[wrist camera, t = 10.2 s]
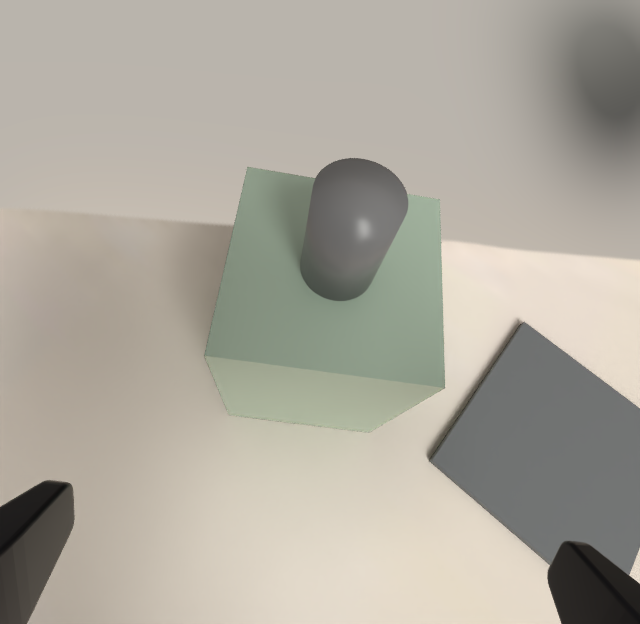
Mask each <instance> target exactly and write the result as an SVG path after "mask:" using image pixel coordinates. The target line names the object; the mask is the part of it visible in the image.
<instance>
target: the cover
mask: <svg viewBox="0 0 640 624" xmlns="http://www.w3.org/2000/svg"><path fill="white" fill-rule="evenodd" d="M440 226H441V225H440V200H439V199H434V198H428V197H422V196H416V195H410V194H407V192H406V190H405V187H404V186H403V184H402V182H401V181H400V180H399V178H398V177H397V176H396V175H395V174H394V173H392V172H391V171H390V170H389V169H387V168H386V167H383V166H382V165H380V164H378V163H376V162H372V161H369V160H365V159H358V158H349V159H342V160H338V161H335V162H333V163H331V164H329V165H327V166H326V167H325V168H323V169H322V170H321V171H320V172H319V174H318V175H317V177H316V178H310V177H304V176H298V175H292V174H286V173H281V172H275V171H269V170H263V169H257V168H251V167H247V171H246V176H245V180H244V184H243V189H242V193H241V198H240V202H239V206H238V211H237V215H236V220H235V224H234V228H233V233H232V237H231V241H230V246H229V250H228V254H227V259H226V263H225V267H224V272H223V276H222V281H221V285H220V289H219V294H218V298H217V302H216V307H215V311H214V316H213V320H212V324H211V329H210V333H209V337H208V342H207V346H206V350H205V355H204V356H205V359H206V361H207V363H208V366H209V368H210V371H211V373H212V376H213V378H214V380H215V383H216V385H217V388H218V390H219V393H220V395H221V397H222V400H223V402H224V405H225V407H226V410H227V412H228V414H229V415H232V416H240V417H248V418H256V419H264V420H272V421H280V422H288V423H296V424H304V425H312V426H320V427H328V428H336V429H345V430H353V431H361V432H371V431H373V430H375V429H376V428H378V427H380V426H381V425H383V424H385V423H386V422H388V421H390V420H392V419H393V418H395V417H397V416H398V415H400V414H402V413H403V412H405V411H407V410H408V409H410V408H412V407H414V406H415V405H417V404H419V403H420V402H422V401H424V400H425V399H427V398H429V397H431V396H432V395H434V394H436V393H437V392H439V391H441V390H442V389H444V388H445V370H444V334H443V298H442V261H441V227H440Z"/></svg>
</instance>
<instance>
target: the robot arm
mask: <svg viewBox="0 0 640 624" xmlns="http://www.w3.org/2000/svg"><path fill="white" fill-rule="evenodd" d="M73 524H74V497H73V487H72V485H71V484H70V483H68V482H61V481H53V480H47V481H44V482H41V483H40V484H38V485H36V486H34V487H33V488H31V489H29V490H28V491H26V492H24V493H23V494H21V495H19V496H18V497H16V498H14V499H13V500H11V501H9V502H7V503H6V504H4V505H2V506H1V507H0V624H27V622H28V620H29V618H30V616H31V614H32V612H33V610H34V608H35V606H36V604H37V602H38V600H39V598H40V596H41V594H42V592H43V589H44V587H45V585H46V583H47V581H48V579H49V577H50V575H51V573H52V571H53V569H54V567H55V564H56V562H57V560H58V558H59V556H60V554H61V552H62V550H63V548H64V546H65V544H66V542H67V539H68V537H69V535H70V533H71V531H72V528H73ZM548 584H549V588H550V591H551V594H552V597H553V600H554V603H555V606H556V609H557V612H558V615H559V618H560V621H561V624H640V584H639V583H638V582H637V581H636V580H634V579H633V578H632V577H630V576H629V575H628V574H627V573H625V572H624V571H623V570H622V569H620V568H619V567H618V566H617V565H615V564H614V563H613V562H611V561H610V560H609V559H608V558H606V557H605V556H604V555H603V554H601V553H600V552H599V551H598V550H596V549H595V548H594V547H592V546H591V545H590V544H588V543H585V542H578V541H569V540H567V541H564V542H563V543H561V545H560V547H559V549H558V551H557V553H556V555H555V557H554V559H553V561H552V563H551V565H550V567H549V569H548Z"/></svg>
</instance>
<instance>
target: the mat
mask: <svg viewBox="0 0 640 624" xmlns="http://www.w3.org/2000/svg"><path fill="white" fill-rule="evenodd" d="M429 461H430V462H431V463H432V464H433V465H434V466H436V467H437V468H438V469H439V470H440V471H441V472H443V473H444V474H445V475H446V476H447V477H448V478H450V479H451V480H452V481H453V482H454V483H455V484H456V485H458V486H459V487H460V488H461V489H462V490H463V491H465V492H466V493H467V494H468V495H469V496H470V497H472V498H473V499H474V500H475V501H476V502H477V503H479V504H480V505H481V506H482V507H483V508H484V509H486V510H487V511H488V512H489V513H490V514H491V515H492V516H494V517H495V518H496V519H497V520H498V521H499V522H501V523H502V524H503V525H504V526H505V527H506V528H508V529H509V530H510V531H511V532H512V533H513V534H515V535H516V536H517V537H518V538H519V539H520V540H522V541H523V542H524V543H525V544H526V545H527V546H528V547H530V548H531V549H532V550H533V551H534V552H535V553H537V554H538V555H539V556H540V557H541V558H542V559H544V560H545V561H546V562H547V563H548V564H549V565H551V563H552V561H553V559H554V557H555V555H556V553H557V551H558V549H559V547H560V545H561V543H563V542H564V541H567V540H569V541H578V542H585V543H588V544H590V545H591V546H592V547H594V548H595V549H596V550H598V551H599V552H600V553H601V554H603V555H604V556H605V557H606V558H608V559H609V560H610V561H611V562H613V563H614V564H615V565H617V566H618V567H619V568H620V569H622V570H623V571H624V572H625V573H627V574H628V575H629V574H630V571H631V569H632V566H633V564H634V561H635V558H636V556H637V553H638V551H639V548H640V408H638V407H637V406H636V405H634V404H633V403H632V402H630V401H629V400H628V399H626V398H625V397H624V396H622V395H621V394H620V393H618V392H617V391H616V390H614V389H613V388H612V387H610V386H609V385H608V384H606V383H605V382H604V381H602V380H601V379H600V378H598V377H597V376H596V375H594V374H593V373H592V372H590V371H589V370H588V369H586V368H585V367H584V366H582V365H581V364H580V363H578V362H577V361H576V360H574V359H573V358H572V357H570V356H569V355H568V354H566V353H565V352H564V351H562V350H561V349H560V348H558V347H557V346H556V345H554V344H553V343H552V342H550V341H549V340H548V339H546V338H545V337H544V336H542V335H541V334H540V333H538V332H537V331H536V330H534V329H533V328H532V327H530V326H529V325H528V324H526V323H525V322H523V323H522V324H520V326H519V327H518V329H517V330H516V332H515V333H514V335H513V336H512V338H511V339H510V341H509V342H508V344H507V345H506V347H505V348H504V350H503V351H502V353H501V354H500V356H499V357H498V359H497V360H496V362H495V363H494V365H493V366H492V368H491V369H490V371H489V372H488V374H487V375H486V377H485V378H484V380H483V381H482V383H481V384H480V386H479V387H478V389H477V390H476V392H475V393H474V395H473V396H472V398H471V399H470V401H469V402H468V404H467V405H466V407H465V408H464V409H463V411H462V412H461V414H460V415H459V417H458V418H457V420H456V421H455V423H454V424H453V426H452V427H451V429H450V430H449V432H448V433H447V435H446V436H445V438H444V439H443V441H442V442H441V444H440V445H439V447H438V448H437V450H436V451H435V453H434V454H433V456H432V457H431V459H430V460H429Z"/></svg>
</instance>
